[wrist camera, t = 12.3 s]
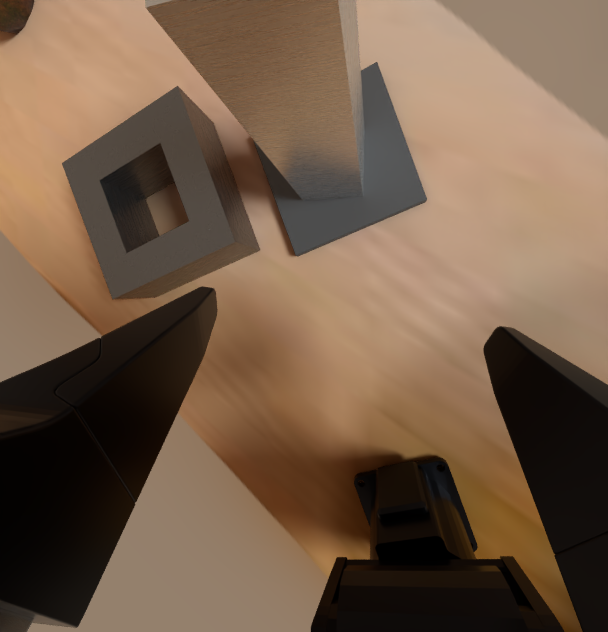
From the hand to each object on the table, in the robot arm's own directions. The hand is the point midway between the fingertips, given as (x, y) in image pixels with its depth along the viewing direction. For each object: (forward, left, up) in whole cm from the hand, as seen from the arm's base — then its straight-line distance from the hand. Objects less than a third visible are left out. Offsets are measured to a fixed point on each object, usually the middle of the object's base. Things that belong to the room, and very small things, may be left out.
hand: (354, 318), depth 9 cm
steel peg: (+9, -1, -10) cm, 14 cm away
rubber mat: (+9, -1, -11) cm, 14 cm away
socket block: (+11, +11, -11) cm, 19 cm away
